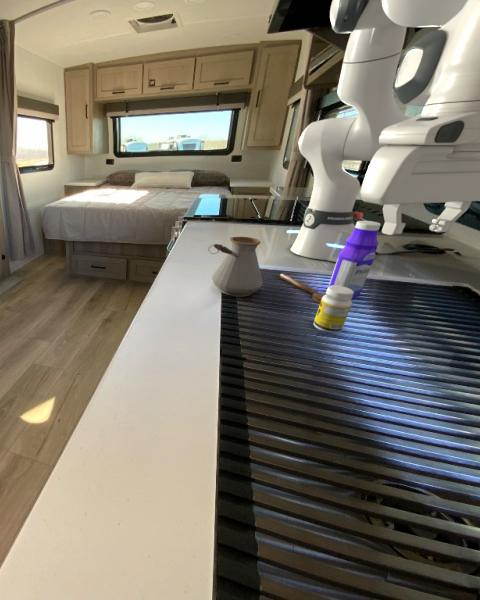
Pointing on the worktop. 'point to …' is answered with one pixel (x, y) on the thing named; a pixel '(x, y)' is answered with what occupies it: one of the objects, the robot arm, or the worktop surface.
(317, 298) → the wooden spoon
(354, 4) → the robot arm
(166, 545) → the worktop surface
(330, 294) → the supplement bottle
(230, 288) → the coffee pot
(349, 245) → the bottle
